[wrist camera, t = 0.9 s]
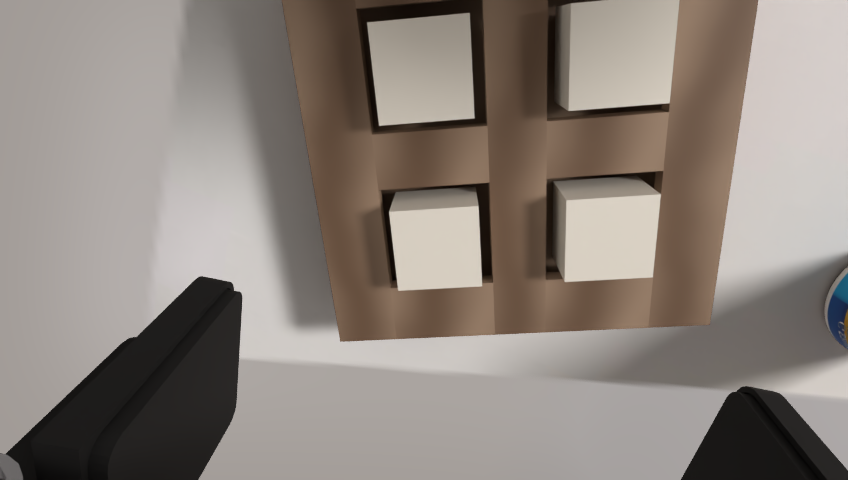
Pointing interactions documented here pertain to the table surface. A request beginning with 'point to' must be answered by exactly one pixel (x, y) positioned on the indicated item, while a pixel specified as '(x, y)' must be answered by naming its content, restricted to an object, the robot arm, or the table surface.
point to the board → (517, 168)
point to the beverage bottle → (838, 309)
